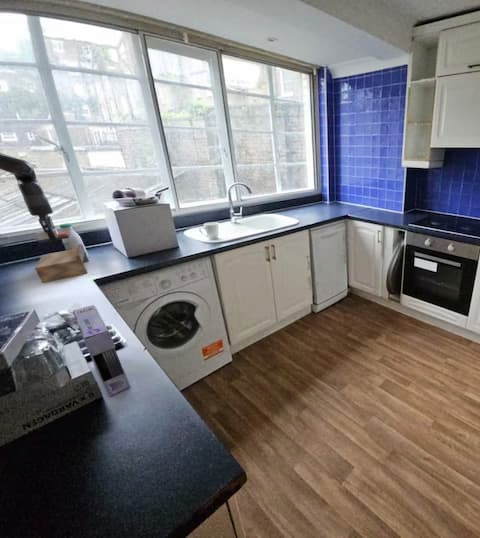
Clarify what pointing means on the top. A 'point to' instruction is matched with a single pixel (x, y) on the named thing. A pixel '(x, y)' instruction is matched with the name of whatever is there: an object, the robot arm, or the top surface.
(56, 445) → the top surface
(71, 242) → the milk bottle
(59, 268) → the tan box with lid
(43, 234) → the white bottle red cap
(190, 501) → the top surface
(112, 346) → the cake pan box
